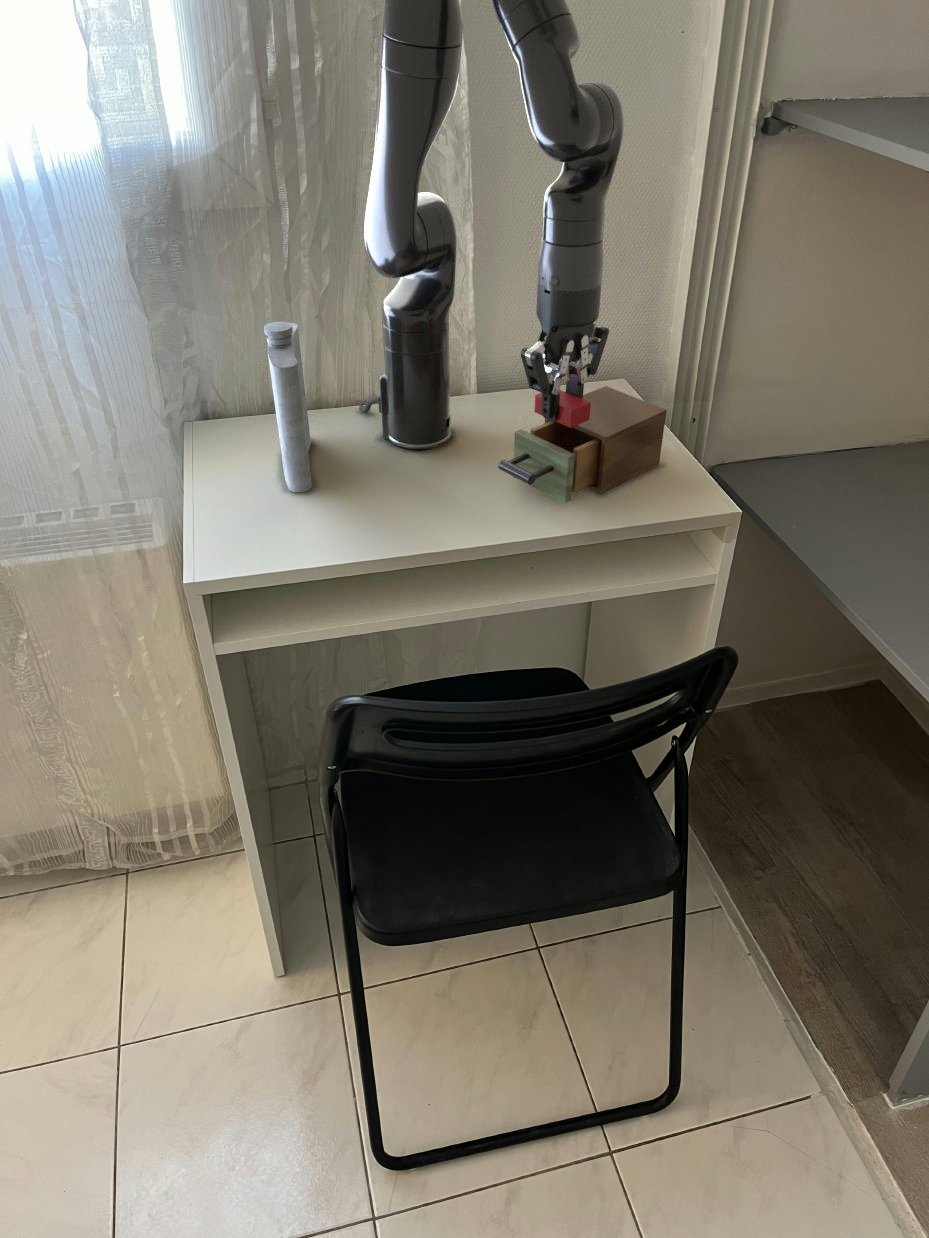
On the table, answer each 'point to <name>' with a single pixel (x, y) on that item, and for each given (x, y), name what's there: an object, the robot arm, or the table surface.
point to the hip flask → (290, 403)
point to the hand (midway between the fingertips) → (561, 413)
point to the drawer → (555, 459)
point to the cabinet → (623, 435)
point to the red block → (568, 409)
